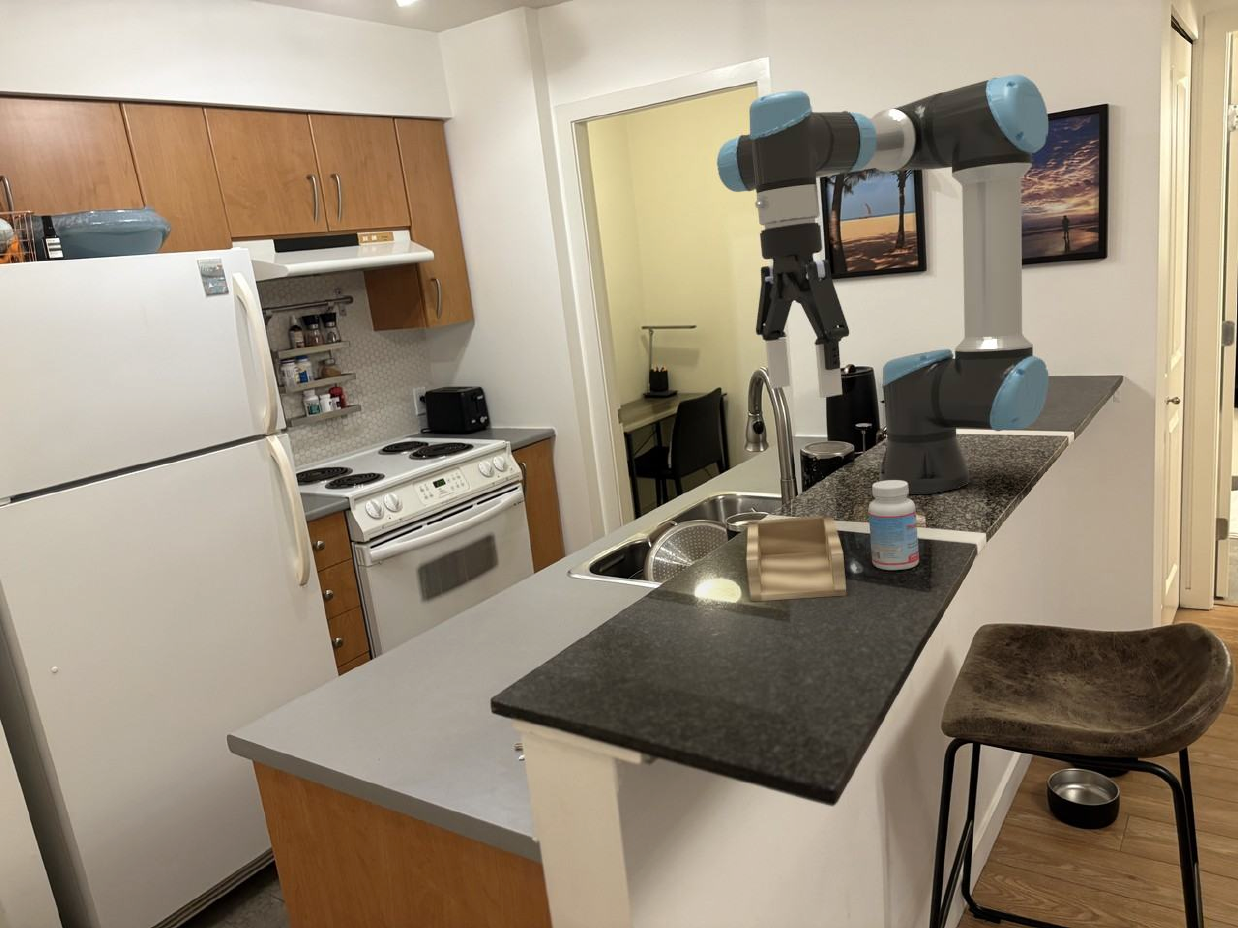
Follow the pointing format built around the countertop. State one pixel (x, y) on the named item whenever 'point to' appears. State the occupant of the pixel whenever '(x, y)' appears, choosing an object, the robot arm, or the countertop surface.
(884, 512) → the pill bottle
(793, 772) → the countertop surface
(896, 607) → the countertop surface
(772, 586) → the cradle
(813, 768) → the countertop surface
